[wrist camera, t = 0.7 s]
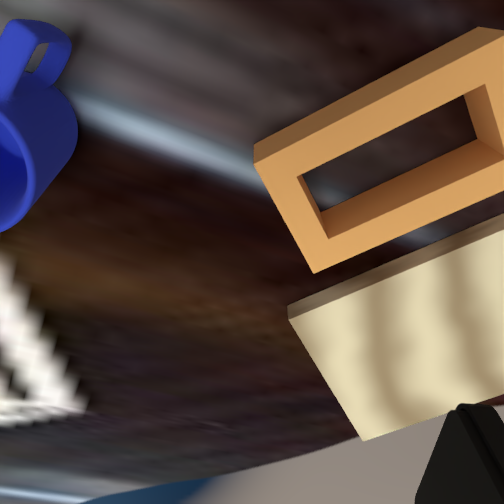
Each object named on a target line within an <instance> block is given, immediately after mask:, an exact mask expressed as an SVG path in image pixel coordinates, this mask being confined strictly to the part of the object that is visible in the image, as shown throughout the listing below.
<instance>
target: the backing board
mask: <svg viewBox="0 0 504 504" xmlns="http://www.w3.org/2000/svg"><path fill="white" fill-rule="evenodd" d="M287 308H288V318H289V321H290V323H291V325H292V326H293V328H294V329H295V331H296V333H297V334H298V336H299V338H300V339H301V341H302V343H303V344H304V346H305V347H306V349H307V351H308V352H309V354H310V356H311V357H312V359H313V361H314V362H315V364H316V365H317V367H318V369H319V370H320V372H321V374H322V375H323V377H324V379H325V380H326V382H327V383H328V385H329V387H330V388H331V390H332V392H333V393H334V395H335V397H336V398H337V400H338V401H339V403H340V405H341V406H342V408H343V410H344V411H345V413H346V415H347V416H348V418H349V419H350V421H351V423H352V424H353V426H354V428H355V429H356V431H357V432H358V434H359V436H360V437H361V439H362V441H366V440H369V439H372V438H375V437H378V436H381V435H384V434H387V433H390V432H392V431H395V430H398V429H401V428H404V427H407V426H410V425H413V424H416V423H419V422H422V421H425V420H427V419H431V418H434V417H437V416H440V415H443V414H446V413H448V412H449V411H450V410H455V409H456V407H457V406H458V405H459V404H460V403H468V404H475V403H478V402H481V401H484V400H487V399H490V398H493V397H496V396H499V395H502V394H504V213H503V214H501V215H498V216H496V217H494V218H491V219H489V220H487V221H484V222H482V223H480V224H477V225H475V226H473V227H470V228H468V229H466V230H463V231H461V232H459V233H456V234H454V235H452V236H449V237H447V238H445V239H442V240H440V241H437V242H435V243H433V244H430V245H428V246H426V247H423V248H421V249H419V250H416V251H414V252H412V253H409V254H407V255H405V256H402V257H400V258H398V259H395V260H393V261H391V262H388V263H386V264H384V265H381V266H379V267H377V268H374V269H372V270H370V271H367V272H365V273H363V274H360V275H358V276H356V277H353V278H351V279H348V280H346V281H344V282H341V283H339V284H337V285H334V286H332V287H330V288H327V289H325V290H323V291H320V292H318V293H316V294H313V295H311V296H309V297H306V298H304V299H302V300H299V301H297V302H295V303H292V304H290V305H288V306H287Z"/></svg>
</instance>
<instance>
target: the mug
mask: <svg viewBox="0 0 504 504" xmlns="http://www.w3.org/2000/svg"><path fill="white" fill-rule="evenodd" d="M41 43H49V46H48V48H47V51H46V53H45V55H44V57H43V59H42V61H41V63H40V64H39V66H38V68H37V69H36V70H35V71H34V72H33V73H28V72H24V69H25V67H26V65H27V63H28V61H29V59H30V57H31V55H32V54H33V52H34V50H35V48H36V47H37V46H38V45H39V44H41ZM71 50H72V43H71V40H70V39H69V37H68V36H67V35H66V34H65V33H64V32H62V31H61V30H60V29H58V28H56V27H55V26H53V25H51V24H49V23H46V22H41V21H35V20H25V19H14V20H11V21H9V23H8V24H7V25H6V27H5V29H4V31H3V33H2V35H1V37H0V232H2V231H5V230H7V229H9V228H10V227H12V226H14V225H15V224H16V223H18V222H19V221H20V220H21V219H22V218H23V217H24V216H25V215H26V213H27V212H28V211H29V209H30V208H31V207H32V206H33V204H34V203H35V202H36V201H37V199H38V198H39V197H40V196H41V194H42V193H43V192H44V191H45V189H46V188H47V187H48V186H49V184H50V183H51V182H52V181H53V179H54V178H55V177H56V176H57V174H58V173H59V172H60V171H61V169H62V168H63V167H64V166H65V164H66V163H67V162H68V160H69V159H70V157H71V156H72V154H73V152H74V150H75V147H76V143H77V138H78V126H77V120H76V116H75V113H74V111H73V109H72V107H71V105H70V103H69V101H68V100H67V99H66V97H65V96H64V95H63V94H62V93H61V92H60V91H59V90H58V89H57V88H56V87H55V86H54V85H53V83H54V82H55V81H56V80H57V79H58V77H59V76H60V74H61V73H62V71H63V69H64V67H65V65H66V63H67V61H68V59H69V57H70V54H71Z"/></svg>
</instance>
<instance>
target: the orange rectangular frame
mask: <svg viewBox="0 0 504 504" xmlns="http://www.w3.org/2000/svg"><path fill="white" fill-rule="evenodd" d="M463 94H464V98H465V101H466V104H467V107H468V110H469V114H470V117H471V120H472V123H473V126H474V129H475V133H476V136H477V139H476V140H474V141H472V142H470V143H468V144H466V145H463V146H461V147H459V148H457V149H455V150H453V151H451V152H449V153H446V154H444V155H442V156H440V157H438V158H436V159H434V160H431V161H429V162H427V163H425V164H423V165H421V166H419V167H417V168H414V169H412V170H410V171H408V172H406V173H404V174H402V175H399V176H397V177H395V178H393V179H391V180H389V181H387V182H385V183H382V184H380V185H378V186H376V187H374V188H372V189H370V190H368V191H365V192H363V193H361V194H359V195H357V196H355V197H353V198H350V199H348V200H346V201H344V202H342V203H340V204H338V205H336V206H333V207H331V208H329V209H327V210H325V211H323V212H320V210H319V208H318V206H317V204H316V202H315V200H314V198H313V197H312V195H311V193H310V191H309V189H308V187H307V185H306V183H305V181H304V179H303V177H302V175H301V174H303V173H305V172H307V171H309V170H311V169H313V168H315V167H317V166H319V165H321V164H323V163H325V162H327V161H329V160H331V159H333V158H336V157H338V156H340V155H342V154H344V153H346V152H348V151H350V150H352V149H354V148H356V147H358V146H360V145H362V144H364V143H366V142H368V141H370V140H372V139H374V138H376V137H378V136H380V135H382V134H384V133H386V132H388V131H390V130H392V129H394V128H396V127H398V126H400V125H402V124H404V123H406V122H408V121H410V120H412V119H414V118H416V117H418V116H420V115H422V114H424V113H427V112H429V111H431V110H433V109H435V108H437V107H439V106H441V105H443V104H445V103H447V102H449V101H451V100H453V99H455V98H457V97H459V96H461V95H463ZM253 164H254V166H255V168H256V170H257V172H258V173H259V175H260V177H261V179H262V181H263V183H264V184H265V186H266V188H267V190H268V192H269V193H270V195H271V197H272V199H273V201H274V203H275V204H276V206H277V208H278V210H279V212H280V213H281V215H282V217H283V219H284V221H285V223H286V224H287V226H288V228H289V230H290V232H291V233H292V235H293V237H294V239H295V241H296V242H297V244H298V246H299V248H300V250H301V252H302V253H303V255H304V257H305V259H306V261H307V262H308V264H309V266H310V268H311V270H312V272H313V273H316V272H319V271H321V270H323V269H325V268H328V267H330V266H332V265H335V264H337V263H339V262H341V261H344V260H346V259H348V258H350V257H353V256H355V255H357V254H360V253H362V252H364V251H366V250H369V249H371V248H373V247H376V246H378V245H380V244H382V243H385V242H387V241H389V240H392V239H394V238H396V237H398V236H401V235H403V234H405V233H408V232H410V231H412V230H414V229H417V228H419V227H421V226H424V225H426V224H428V223H430V222H433V221H435V220H437V219H439V218H442V217H444V216H446V215H449V214H451V213H453V212H455V211H458V210H460V209H462V208H465V207H467V206H469V205H471V204H474V203H476V202H478V201H481V200H483V199H485V198H487V197H490V196H492V195H494V194H497V193H499V192H501V191H503V190H504V30H497V29H490V28H484V27H477V28H475V29H473V30H471V31H469V32H467V33H465V34H463V35H461V36H460V37H458V38H456V39H454V40H452V41H450V42H448V43H446V44H444V45H442V46H441V47H439V48H437V49H435V50H433V51H431V52H429V53H427V54H425V55H423V56H421V57H420V58H418V59H416V60H414V61H412V62H410V63H408V64H406V65H404V66H402V67H400V68H399V69H397V70H395V71H393V72H391V73H389V74H387V75H385V76H383V77H381V78H379V79H378V80H376V81H374V82H372V83H370V84H368V85H366V86H364V87H362V88H360V89H358V90H357V91H355V92H353V93H351V94H349V95H347V96H345V97H343V98H341V99H339V100H337V101H336V102H334V103H332V104H330V105H328V106H326V107H324V108H322V109H320V110H318V111H316V112H315V113H313V114H311V115H309V116H307V117H305V118H303V119H301V120H299V121H297V122H296V123H294V124H292V125H290V126H288V127H286V128H284V129H282V130H280V131H278V132H276V133H275V134H273V135H271V136H269V137H267V138H265V139H263V140H261V141H259V142H257V143H255V144H254V161H253Z"/></svg>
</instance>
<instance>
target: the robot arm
mask: <svg viewBox="0 0 504 504" xmlns="http://www.w3.org/2000/svg"><path fill="white" fill-rule="evenodd" d="M415 504H504V423H503V421H502V420H501V418H500V416H499V415H498V413H497V411H496V410H495V409H494V408H493V407H492V406H490V405H482V404H468V403H460V404H459V405H458V406H457V407H456V409H455V410H450V411H449V412H448V414H447V417H446V419H445V422H444V424H443V427H442V429H441V432H440V435H439V437H438V440H437V442H436V445H435V447H434V450H433V452H432V455H431V457H430V460H429V462H428V465H427V468H426V470H425V473H424V475H423V478H422V480H421V483H420V485H419V488H418V490H417V493H416V496H415Z"/></svg>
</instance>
